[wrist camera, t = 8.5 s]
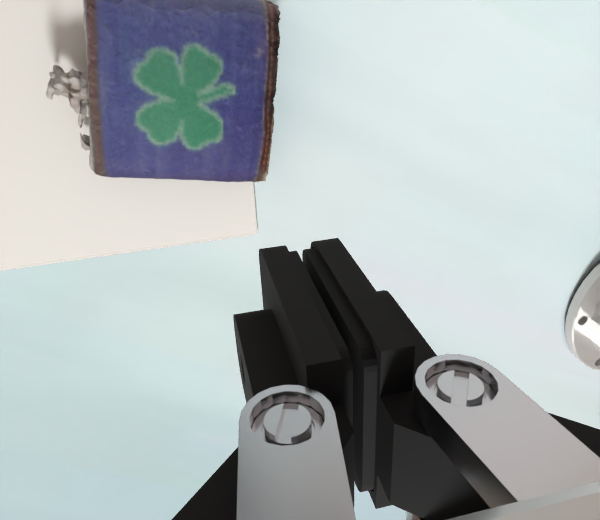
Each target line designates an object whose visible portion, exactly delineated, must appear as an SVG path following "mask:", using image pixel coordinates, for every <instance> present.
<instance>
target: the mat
mask: <svg viewBox="0 0 600 520" xmlns="http://www.w3.org/2000/svg"><path fill="white" fill-rule="evenodd" d="M83 12H84V7H83V0H0V271H2V270H9V269H16V268H23V267H30V266H37V265H44V264H51V263H58V262H65V261H72V260H79V259H86V258H94V257H101V256H108V255H115V254H122V253H129V252H136V251H143V250H150V249H157V248H164V247H171V246H178V245H185V244H192V243H199V242H206V241H213V240H220V239H227V238H234V237H241V236H248V235H255V234H258V232H257V220H256V208H255V197H254V185H253V182H218V181H203V180H178V179H154V178H123V177H120V178H112V177H104V176H100V175H97V174H95V173H94V171H93V170H91V168H90V166H89V155H90V150H87V151H86V150H84V149H83V148H82V147H81V139H80V133H81V134H82V136H83V134H85V135H88V136H90V135H89V117H87V116H86V117H85V118H84V119H83V124H82V127H81V128H80V127H79V125H78V117H79V115H78V114H77V113H76V112H75V111H74V109H73V108H72V107H71V106H70V102H69V99H68V98H67V97H64V96H62V95H60V96H58V95H53V99H48V98H47V96H46V91H47V88H48V82H49V80H50V78H51V77H50V75H49V73H50V72H53V66H54V65H58V66H60V67H61V68H62V69H63V70H64V72H65V73H67V72H68V73H69V71H70V70H71V69H72V68H73V69H74V70H75V71H80V72H82V73H83V72H87V59H86V39H85V28H84V23H83Z"/></svg>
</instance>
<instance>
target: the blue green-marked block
mask: <svg viewBox="0 0 600 520" xmlns="http://www.w3.org/2000/svg"><path fill="white" fill-rule="evenodd" d="M83 7H84V12H83V23H84V28H85V39H86V59H87V72H83V73H82V72H80V71H75V70H74V69H73V68H72V69H71V70H70V71H69V73H68V72H67V73H65V72H64V70H63V69H62V68H61V67H60V66H58V65H54V66H53V72H50V73H49V75H50V77H51V78H50V80H49V82H48V88H47V91H46V96H47V98H48V99H53V95H58V96H60V95H62V96H64V97H67V98H68V99H69V102H70V106H71V107H72V108H73V109H74V111H75V112H76V113H77V114H78V115H79V117H78V125H79V127H80V128H81V127H82V124H83V119H84V118H85V117H86V116H87V117H89V135H90V136H88V135H85V134H83V136H82V134H81V133H80V139H81V147H82V148H83V149H84V150H86V151H87V150H90V155H89V166H90V168H91V170H93V171H94V173H95V174H97V175H100V176H104V177H112V178H120V177H123V178H154V179H178V180H203V181H218V182H257V181H266V176H267V174H268V167H269V159H270V150H271V142H272V141H271V140H272V139H271V137H272V133H273V124H274V118H273V114H274V106H273V101H274V100H273V98H274V97H275V92H276V81H277V80H276V77H277V66H278V65H277V63H278V57H277V55H278V51H277V50H278V48H279V44H280V37H279V29H278V22H279V20H280V18H279V15H280V11H279V10H278V6H277V5H275V4H273V3H271V2H269V1H266V0H83Z"/></svg>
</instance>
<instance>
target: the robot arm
mask: <svg viewBox="0 0 600 520" xmlns="http://www.w3.org/2000/svg"><path fill="white" fill-rule="evenodd" d="M259 261H260V273H261V284H262V296H263V307H264V310H260V311H254V312H247V313H241V314H235V315H234V328H235V336H236V345H237V353H238V360H239V366H240V372H241V378H242V384H243V389H244V393H245V398H246V405H245V406H244V408H243V409H242V411H241V415H240V419H239V441H238V448H237V449H236V450H235V451H234V452H233V453H232V454H231V455H230V456H229V458H228V459H227V460H226V461H225V462H224V463H223V464H222V465H221V466H220V467H219V469H218V470H217V471H216V472H215V473H214V474H213V475H212V476H211V477H210V478H209V479H208V481H207V482H206V483H205V484H204V485H203V486H202V487H201V488H200V489H199V490H198V492H197V493H196V494H195V495H194V496H193V497H192V498H191V499H190V500H189V501H188V503H187V504H186V505H185V506H184V507H183V508H182V509H181V510H180V511H179V512H178V513H177V515H176V516H175V517H174V518H173V519H172V520H356V518H355V512H354V481H355V484H356V486H357V488H358V490H359V491H360V492H363V491H369V493H370V496H371V498H372V500H373V503H374V505H375V508H376V509H377V508H381V507H385V506H390V505H394V506H397V507H399V508H401V509H403V510H405V511H406V520H600V430H599V429H596V428H593V427H590V426H587V425H584V424H581V423H578V422H575V421H572V420H569V419H566V418H562V417H559V416H556V415H553V414H550V413H547V412H546V411H545V410H544V409H543V408H541V407H540V406H539V405H538V404H537V403H536V402H535V401H533V400H532V399H531V398H530V397H529V396H528V395H526V394H525V393H524V392H523V391H522V390H521V389H519V388H518V387H517V386H516V385H515V384H514V383H513V382H511V381H510V380H509V379H508V378H507V377H506V376H504V375H503V374H502V373H501V372H500V371H499V370H497V369H496V368H494V367H493V366H492V365H490V364H489V363H487V362H485V361H482V360H480V359H477V358H475V357H470V356H466V355H461V354H445V355H440V356H437V355H436V354H435V353H434V351H433V350H432V349H431V347H430V346H429V345H428V343H427V342H426V341H425V339H424V338H423V337H422V335H421V334H420V333H419V331H418V330H417V329H416V327H415V326H414V325H413V323H412V322H411V321H410V319H409V318H408V317H407V315H406V314H405V313H404V311H403V310H402V309H401V307H400V306H399V305H398V304H397V302H396V301H395V300H394V298H393V297H392V296H391V294H390V293H389V292H388V291H384V290H383V291H377V292H376V290H375V289H374V287H373V286H372V285H371V283H370V282H369V280H368V279H367V278H366V276H365V275H364V273H363V272H362V271H361V269H360V268H359V266H358V265H357V264H356V262H355V261H354V259H353V258H352V257H351V255H350V254H349V252H348V251H347V250H346V248H345V247H344V245H343V244H342V243H341V241H340V240H339V239H338V238H335V239H328V240H321V241H314V242H312V243H311V249H305V250H303V262H302V260H301V258H300V256H299V254H298V252H297V251H291V252H289V251H288V249H287V247H286V246H278V247H271V248H264V249H259ZM565 335H566V342H567V344H568V346H569V348H570V351H571V352H572V353H573V354H574V355H575V356H576V357H577V358H578V359H579V360H580V361H582V362H583V363H584V364H585V365H586V366H588V367H590V368H592V369H595V370H600V263H599V264H598V265H597V266H596V267H595V268H594V269H593V270H592V271H591V272H590V273H589V275H588V276H587V277H586V278H585V279H584V281H583V282H582V284H581V285H580V287H579V288H578V290H577V291H576V293H575V295H574V297H573V300H572V302H571V304H570V306H569V310H568V313H567V317H566V324H565Z"/></svg>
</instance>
